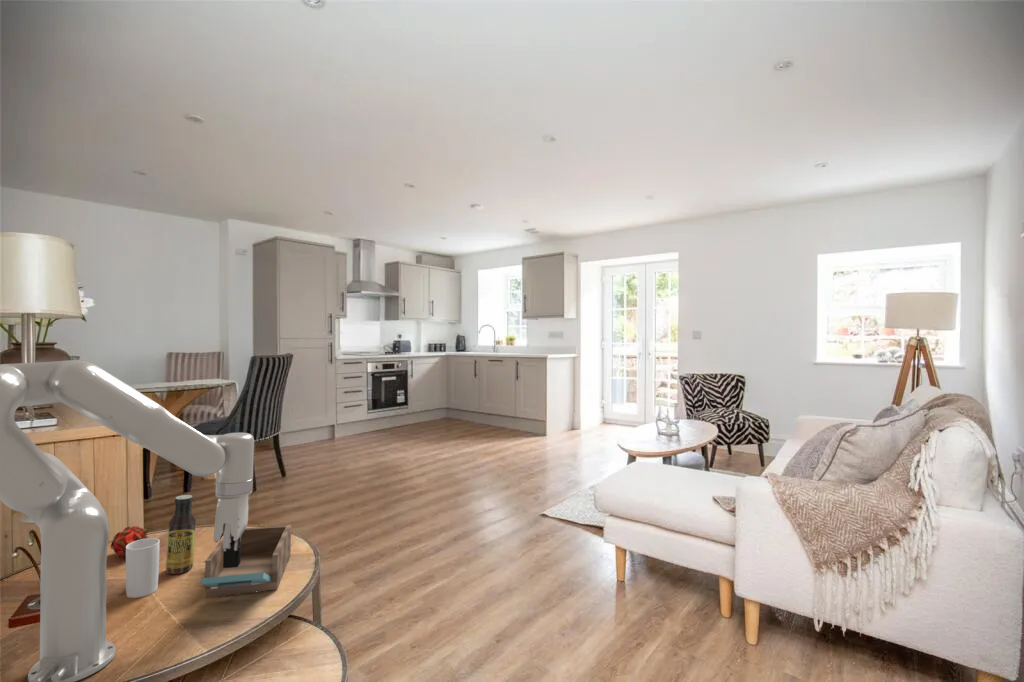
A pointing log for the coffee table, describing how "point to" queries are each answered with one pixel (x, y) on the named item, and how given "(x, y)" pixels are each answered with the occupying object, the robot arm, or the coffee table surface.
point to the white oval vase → (142, 567)
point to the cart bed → (253, 559)
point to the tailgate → (235, 580)
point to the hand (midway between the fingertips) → (231, 565)
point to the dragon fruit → (127, 539)
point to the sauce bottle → (181, 537)
